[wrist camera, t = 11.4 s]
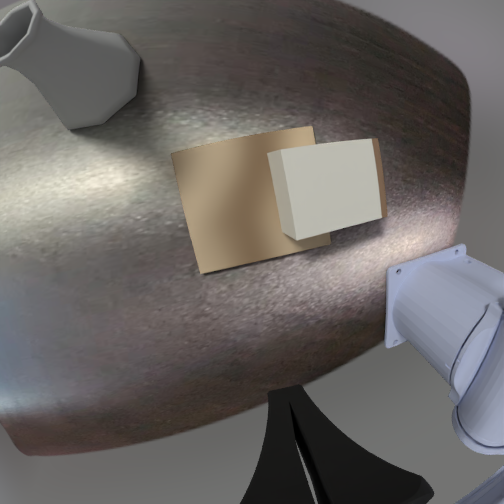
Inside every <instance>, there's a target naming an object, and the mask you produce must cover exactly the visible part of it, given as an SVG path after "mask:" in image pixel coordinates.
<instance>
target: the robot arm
mask: <svg viewBox="0 0 504 504" xmlns="http://www.w3.org/2000/svg"><path fill="white" fill-rule="evenodd" d="M455 251H456V252H455ZM398 269H399V271H398V273H396V271H397V270H398ZM406 341H409V342H410V343H411V344H412V345H413V346H414V347H415V348H416V349H417V350H418V351H419V353H420V354H421V355H423V357H425V359H426V360H427V361H428V362H429V363H430V364H431V365H432V366H433V367H434V368H435V370H436V371H437V372H438V373H439V374H440V375H441V376H442V377H443V378H444V379H445V380H446V381H447V382H448V383H449V385H450V386H451V390H450V393H449V395H448V397H449V398H450V399H451V400H452V402H453V403H454V404H455V407H454V409H453V413H452V424H453V427H454V430H455V432H456V434H457V436H458V438H459V439H460V440H461V441H462V442H463V443H464V444H465V445H466V446H467V447H469V448H470V449H471V450H473V451H475V452H478V453H481V454H486V455H494V454H502V455H504V273H502V272H500V271H498V270H496V269H495V268H492V267H490V266H488V265H486V264H484V263H482V262H480V261H478V260H476V259H474V258H472V257H470V256H467V255H466V246H465V245H464V244H459V245H456V246H453V247H450V248H447V249H444V250H441V251H438V252H435V253H432V254H429V255H426V256H423V257H420V258H417V259H414V260H410V261H407V262H404V263H401V264H397V265H394V266H391V267H389V268H388V270H387V273H386V325H385V341H384V345H385V346H386V348H391V347H394V346H396V345H399V344H401V343H403V342H406ZM267 394H268V406H269V407H268V420H267V427H266V433H265V438H264V442H263V446H262V451H261V454H260V458H259V461H258V464H257V467H256V470H255V473H254V475H253V478H252V480H251V482H250V485H249V487H248V489H247V491H246V493H245V495H244V497H243V499H242V501H241V502H240V504H315V502H314V499H313V496H312V493H311V490H310V487H309V485H308V481H307V478H306V475H305V472H304V468H303V465H302V462H301V459H300V456H299V452H298V449H297V445H298V448H299V450H300V452H301V455H302V457H303V460H304V463H305V465H306V468H307V470H308V473H309V475H310V478H311V481H312V484H313V487H314V491H315V495H316V498H317V501H318V504H426V503H427V502H428V501H429V500H430V499H431V498H432V497H433V496H434V491H433V489H432V487H431V486H430V485H429V484H428V483H427V482H426V480H425V479H424V478H423V477H422V476H420V475H417V474H414V473H412V472H409V471H406V470H404V469H401V468H399V467H397V466H394V465H392V464H390V463H388V462H386V461H384V460H383V459H381V458H379V457H377V456H375V455H374V454H372V453H370V452H368V451H367V450H365V449H364V448H362V447H361V446H360V445H358V444H357V443H355V442H354V441H353V440H351V439H350V438H349V437H347V436H346V435H345V434H344V433H343V432H342V431H341V430H339V429H338V428H337V427H336V426H335V425H334V424H333V423H332V422H331V421H330V420H329V419H328V418H327V417H326V416H325V415H324V414H323V413H322V412H321V411H320V410H319V408H318V407H317V406H316V405H315V404H314V402H313V401H312V400H311V399H310V397H309V396H308V395H307V393H306V392H305V390H304V388H303V387H302V385H299V384H298V385H294V386H290V387H286V388H282V389H277V390H272V391H269V392H268V393H267ZM296 443H297V445H296ZM454 504H504V465H503V466H502V467H501V468H500V469H499V470H498V471H496V472H495V473H494V474H493V475H492V476H491V477H489V478H488V479H487V480H486V481H484V482H483V483H482V484H481V485H479V486H478V487H477V488H475V489H474V490H473V491H471V492H470V493H469V494H467V495H466V496H464V497H463V498H462V499H460V500H459V501H457V502H456V503H454Z"/></svg>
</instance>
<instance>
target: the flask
mask: <svg viewBox="0 0 504 504" xmlns="http://www.w3.org/2000/svg"><path fill="white" fill-rule="evenodd" d="M139 65H140V56H139V55H138V54H137V53H136V52H135V50H134V49H133V48H132V47H131V45H130V44H129V43H128V42H127V41H126V39H125V38H124V37H123V36H122V35H121V34H117V33H111V32H103V31H95V30H89V29H82V28H75V27H68V26H65V25H63V24H60V23H57V22H54V21H52V20H49V19H47V18H46V17H45V16H43V13H42V11H41V10H40V8H39V7H38V5H37V3H36V2H35V0H29V1H27V2H25V3H23V4H21V5H19V6H17V7H15V8H14V9H12V10H11V11H10V12H9V13H8V14H7V15H6V16H5V17H4V18H3V19H2V21H1V22H0V67H2V66H7V67H10V68H12V69H15V70H17V71H19V72H20V73H21V74H23V75H24V76H25V77H26V78H28V79H29V80H30V81H31V82H32V83H34V84H35V86H36V87H37V88H38V90H39V91H40V92H41V94H42V95H43V96H44V98H45V99H46V100H47V102H48V103H49V104H50V106H51V107H52V108H53V110H54V111H55V113H56V114H57V116H58V117H59V119H60V120H61V122H62V123H63V124H64V126H65V127H66V128H67V129H68V130H71V129H77V128H82V127H88V126H94V125H100V124H104V123H105V122H106V121H107V120H108V119H109V118H110V117H111V116H113V115H114V114H115V113H116V112H117V111H118V110H119V109H121V108H122V107H123V106H124V105H125V104H126V103H128V102H129V101H130V100H131V99H133V98H134V97H135V96H136V93H137V83H138V73H139Z"/></svg>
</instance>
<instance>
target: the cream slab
mask: <svg viewBox="0 0 504 504" xmlns="http://www.w3.org/2000/svg"><path fill="white" fill-rule="evenodd" d="M267 155H268V160H269V165H270V170H271V175H272V180H273V186H274V191H275V196H276V201H277V207H278V212H279V218H280V223H281V229H282V232H283V233H285V234H287V235H288V236H290V237H292V238H293V239H295V240H300V239H304V238H308V237H312V236H316V235H319V234H323V233H327V232H331V231H334V230H338V229H342V228H346V227H349V226H353V225H357V224H361V223H365V222H368V221H372V220H376V219H380V218H383V217H387V205H386V194H385V185H384V177H383V169H382V162H381V155H380V149H379V143H378V138H375V139H363V140H351V141H341V142H332V143H323V144H315V145H308V146H301V147H294V148H287V149H281V150H277V151H273V152H269V153H267Z"/></svg>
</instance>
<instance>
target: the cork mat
mask: <svg viewBox="0 0 504 504" xmlns="http://www.w3.org/2000/svg"><path fill="white" fill-rule="evenodd" d="M315 144H316V143H315V138H314V133H313V128H312V126H309V127H301V128H293V129H286V130H280V131H273V132H267V133H261V134H255V135H250V136H245V137H239V138H234V139H229V140H225V141H220V142H215V143H211V144H207V145H202V146H198V147H194V148H190V149H186V150H182V151H178V152H175V153H171V156H172V161H173V165H174V170H175V174H176V179H177V183H178V188H179V192H180V196H181V200H182V204H183V208H184V212H185V216H186V220H187V224H188V228H189V232H190V236H191V240H192V244H193V247H194V251H195V255H196V258H197V262H198V266H199V269H200V273H201V274H203V273H207V272H212V271H216V270H221V269H225V268H229V267H234V266H238V265H243V264H247V263H252V262H256V261H260V260H265V259H269V258H273V257H278V256H282V255H287V254H291V253H295V252H300V251H304V250H308V249H312V248H317V247H321V246H325V245H329V244H331V238H330V232H327V233H323V234H319V235H316V236H312V237H308V238H304V239H300V240H295V239H293V238H292V237H290V236H288V235H287V234H285V233H283V232H282V229H281V223H280V218H279V212H278V207H277V201H276V196H275V191H274V186H273V180H272V175H271V170H270V165H269V160H268V155H267V153H269V152H273V151H277V150H281V149H287V148H294V147H301V146H308V145H315Z"/></svg>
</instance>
